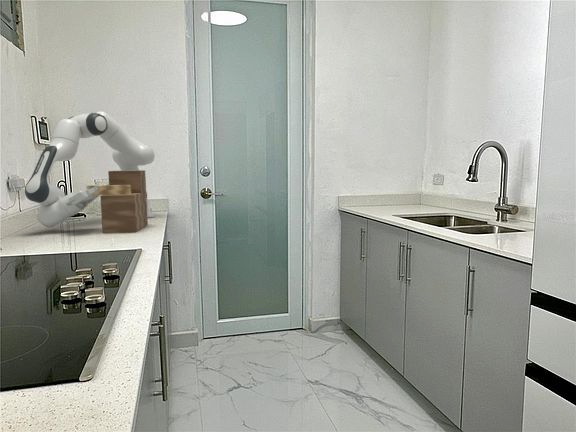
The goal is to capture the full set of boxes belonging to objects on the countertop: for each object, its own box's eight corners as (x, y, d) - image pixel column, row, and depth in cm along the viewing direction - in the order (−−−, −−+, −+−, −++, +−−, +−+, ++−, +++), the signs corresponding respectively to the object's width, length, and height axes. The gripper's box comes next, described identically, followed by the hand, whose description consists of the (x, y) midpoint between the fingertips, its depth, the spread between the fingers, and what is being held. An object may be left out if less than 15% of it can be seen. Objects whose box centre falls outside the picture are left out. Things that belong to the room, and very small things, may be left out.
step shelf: (117, 225, 225) (114, 170, 222) (147, 225, 226) (145, 170, 223) (102, 233, 202) (99, 171, 199) (136, 232, 203) (133, 171, 200)
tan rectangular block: (86, 195, 204) (86, 185, 204) (89, 194, 207) (88, 185, 207) (129, 194, 205) (129, 185, 205) (131, 194, 208) (130, 184, 208)
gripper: (60, 198, 195) (89, 181, 195) (78, 195, 215) (104, 179, 215) (69, 211, 196) (97, 194, 196) (86, 207, 216) (112, 191, 216)
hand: (101, 186), depth 206 cm, fingers open, 8 cm apart
